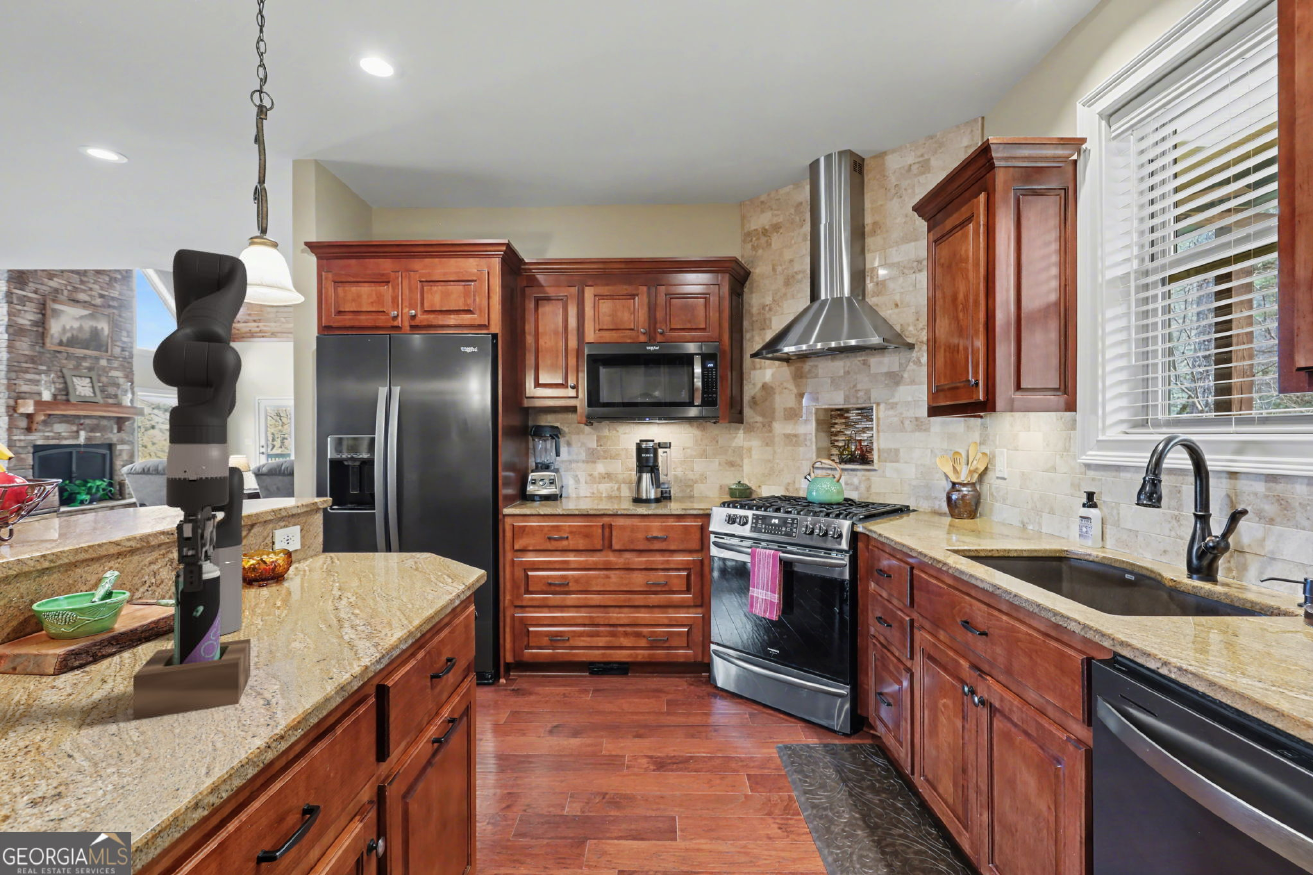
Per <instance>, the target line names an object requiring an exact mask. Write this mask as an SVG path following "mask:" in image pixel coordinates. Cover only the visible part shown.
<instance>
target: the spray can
mask: <svg viewBox="0 0 1313 875" xmlns="http://www.w3.org/2000/svg"><path fill="white" fill-rule="evenodd" d="M191 555H195V554H191ZM209 562H210V561H209V560H207V558H205V553H204V562H203V588H202V589H201V590H200V591H196V592H184V590H183V567H184V566H181V568H179V569H177V570H175V574H176V575H175V576H174V620H173V621H174V628H173V629H174V632H173V633H174V638H173V640H174V644H173V648H174V665H182V664H189V663H197V662H204V661H212V660H220V642H221V638H220V637H221V635H220V571H219V566H215V565H213V564H211V563H209Z"/></svg>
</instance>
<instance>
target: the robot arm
mask: <svg viewBox="0 0 1313 875" xmlns="http://www.w3.org/2000/svg"><path fill="white" fill-rule="evenodd" d="M247 274H248V273H247V268H246V265H245V263H244V262H243V260H242V259H240V258H239V257H237V256H233V255H229V254H224V253H222V254H220V253H216V252H209V251H204V250H203V251H202V250H195V249H188V248H181V249H178V250H177V251H176V252H175V254H174V256H173V262H172V283H173V296H174V307H175V318H176V329H175V330H173V331H172V332H171V333H170V334H169V335H167V336H166V337H165V338H164V339H163V340H162V341H161V342H160V343H159V345H158V346H157V348H156V350H155V351H154V354H153V359H152V369H153V373H154V375H155V376H156V378H157V379H158V380H159V381H160V382H161V383H162V384H164V385H166V386H168V387H172V388H176V393H177V394H176V395H177V397H176V398H177V405H175V406H173V407H172V408H171V409H170V411H169V413H168V414H169V415H168V426H169V427H168V449H167V456H166V472H165V473H166V482H165V484H166V486H165V489H166V491H165V492H166V494H165V496H166V498H165V499H166V502H165V503H166V506H167V507H169V508H174V509H175V508H176V509H178V508H179V509H180V510H181V512H183V518H182V519H180V520H179V522H178V523H177V524H176V526H175V530H176V538H177V539H176V542H177V563H178V565H181V567H183V590H184V592H196V591H200V590H201V589H202V588H203V562H204V553H205V558H207V560H209V561H210V562H209V563H211V564H213V565H215V566H219V571H220V636H223V635H226V634H230V633H233V632H236V631H239V630H240V629H242V627H243V621H242V620H243V617H242V616H243V612H242V611H243V507H244V495H245V493H244V492H245V478H244V474H243V470H242V469H241V468H240V467H237V466H230V463H229V462H230V460H229V452H228V419H229V418H230V416H231V414H232V413H233V412H234V410H235V407H236V404H237V383H238V380H239V378H240V376H241V371H242V364H243V363H242V358H241V355H240V353H239V352H238V350H237V349H236V348H235V347H234V346H232V344H231V340H232V332H233V331H232V330H233V325H234V322H235V321H236V318H237V316H238V315H239V313H240V311H241V309H242V307H243V305H244V302H245V300H246V296H247V290H248V275H247ZM217 513H223V516H222V517H221V518H220V519H219V520H217V519H218V515H217ZM191 554H195V555H191Z"/></svg>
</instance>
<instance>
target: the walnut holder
mask: <svg viewBox="0 0 1313 875" xmlns="http://www.w3.org/2000/svg"><path fill="white" fill-rule="evenodd" d="M132 677H133V678H132V679H133V680H132V682H133V683H132V684H133V685H132V720H133V721H137V720H142V719H148V718H149V719H150V718H155V717H161V716H167V715H174V714H181V713H187V712H188V713H189V712H193V711H199V710H205V709H213V708H218V707H223V706H224V707H225V706H229V705H230V706H231V705H237V704H239V703H240V701H241V699H242V696H243V694H244V691H245V689H246V687H247V684H248V683H249V680H250V677H251V638H246V639H239V640H230V641H220V660H212V661H204V662H197V663H189V664H182V665H174V647H172V648H165V649H157V650H156V651H155V652H154V653H153V655H152V656H151V657H150V658H149V659H148V660H147V661H146V662H145V663H144V664H143V665H142V666H141V667H140V668H139V669H138V670H137V671H136V673H135V674H133V676H132Z"/></svg>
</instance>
